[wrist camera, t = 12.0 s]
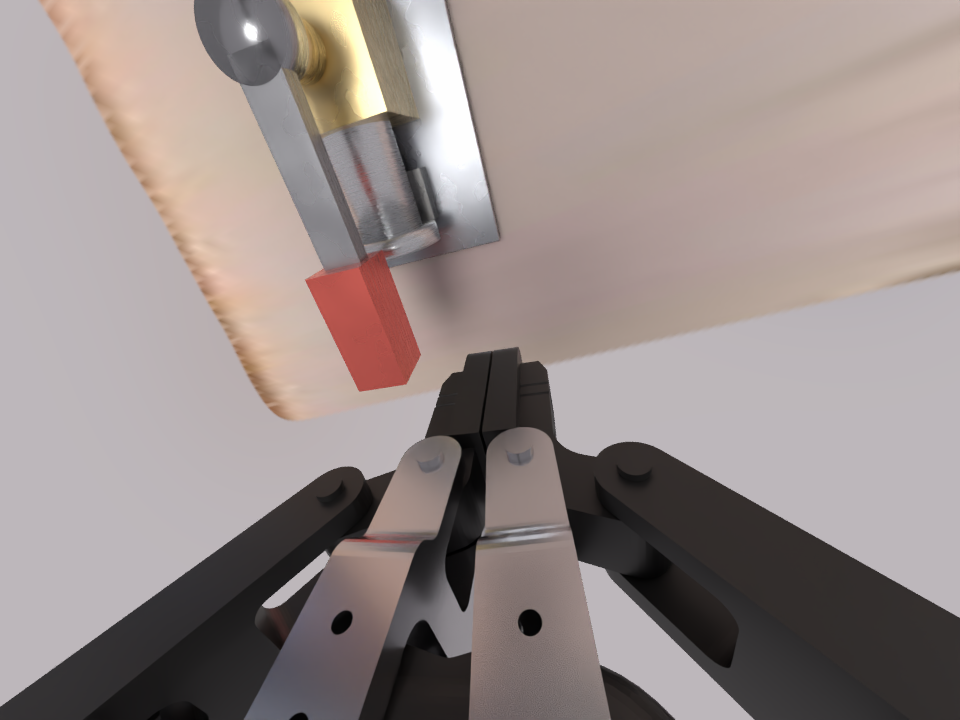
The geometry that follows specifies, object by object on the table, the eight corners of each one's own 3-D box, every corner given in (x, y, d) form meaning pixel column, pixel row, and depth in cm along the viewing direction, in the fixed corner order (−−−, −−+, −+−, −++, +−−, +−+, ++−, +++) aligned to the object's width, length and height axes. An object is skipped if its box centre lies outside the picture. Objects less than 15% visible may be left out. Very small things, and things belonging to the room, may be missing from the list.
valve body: (163, -149, 18) (-99, -361, 11) (381, -281, 16) (244, -687, 8) (349, 274, 29) (283, 323, 21) (500, 237, 26) (489, 276, 18)
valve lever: (215, 3, 14) (146, -28, 11) (287, -29, 13) (230, -70, 11) (374, 362, 22) (354, 392, 19) (425, 353, 21) (411, 383, 18)
